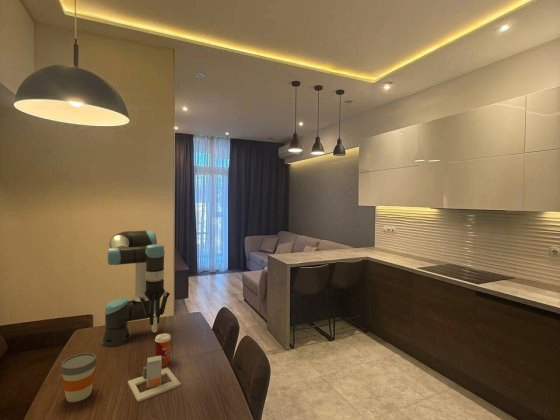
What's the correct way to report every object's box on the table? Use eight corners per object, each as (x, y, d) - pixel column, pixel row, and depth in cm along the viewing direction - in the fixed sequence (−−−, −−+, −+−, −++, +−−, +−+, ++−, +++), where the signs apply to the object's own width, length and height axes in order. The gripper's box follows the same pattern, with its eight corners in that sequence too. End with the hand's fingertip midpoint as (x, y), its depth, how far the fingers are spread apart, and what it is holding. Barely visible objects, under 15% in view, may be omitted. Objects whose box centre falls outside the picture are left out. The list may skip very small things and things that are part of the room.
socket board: (127, 383, 135) (127, 371, 135) (167, 369, 147) (167, 358, 146) (137, 402, 123) (137, 389, 123) (180, 385, 134) (180, 373, 134)
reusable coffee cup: (91, 402, 122) (91, 366, 122) (55, 407, 119) (55, 370, 118) (100, 383, 134) (100, 351, 134) (67, 388, 131) (67, 354, 130)
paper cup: (165, 368, 147) (165, 340, 147) (151, 366, 149) (151, 338, 148) (173, 360, 155) (174, 333, 154) (160, 358, 157) (160, 332, 156)
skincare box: (146, 388, 131) (147, 362, 131) (146, 383, 135) (146, 357, 135) (161, 385, 134) (161, 359, 134) (160, 380, 138) (161, 354, 137)
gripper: (141, 283, 126) (141, 338, 127) (172, 279, 135) (171, 330, 136) (136, 279, 132) (136, 331, 133) (166, 275, 140) (165, 324, 141)
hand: (154, 330), depth 134 cm, fingers closed
